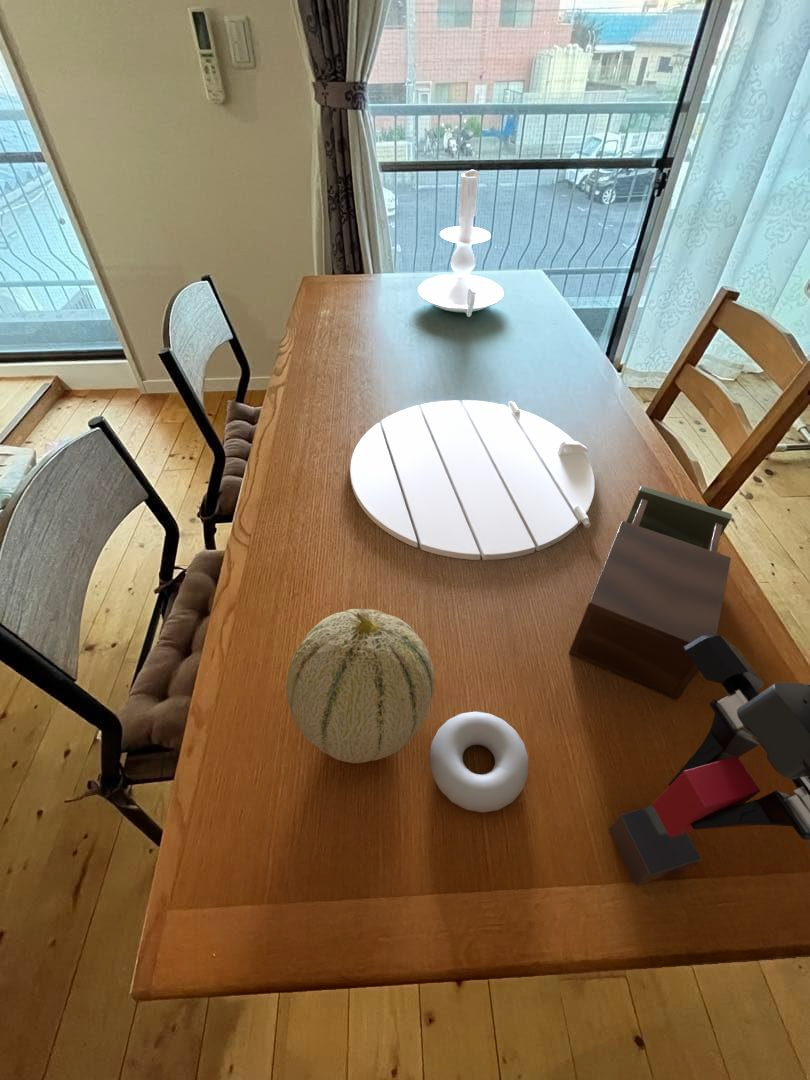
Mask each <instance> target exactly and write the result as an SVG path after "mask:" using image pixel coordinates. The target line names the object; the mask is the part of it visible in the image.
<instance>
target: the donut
mask: <svg viewBox="0 0 810 1080" xmlns="http://www.w3.org/2000/svg"><path fill="white" fill-rule="evenodd" d="M476 745H478V746H482V747H484V748H486V749H487V750H488V751H490V752H491V754H492V756H493V757H494V766H493V768H492V770H491V771H489V772H487V773H483V774H479V773H475V772H473V771H471V770H470V769H469V768H467V766H466V765H465V763H464V759H463V756H464V753H465V751H466V749H467V748H470V747H471V746H476ZM429 764H430V770H431V775H432V777H433V779H434V781H435V783H436V785H437V787H438V789H439V791H440V792H441V793H442V794H443V795H444V796H445V797H446V798H447V799H448V800H449V801H450V802H451V803H453V804H455V805H457V806H458V807H460V808H462V809H464V810H467V811H472V812H477V813H482V814H483V813H488V812H495V811H500V810H501V809H503V808H504V807H507V806H508V805H509V804H512V803H513V802H514V801H515V800H516V799H517V798H518V796H519V795H520V794H521V793H522V791H523V790H524V788H525V785H526V782H527V779H528V777H529V755H528V752H527V749H526V746H525V742H524V741H523V739H522V738H521V737H520V735H519V734H518V732H517V731H516V729H514V728H513V727H512V726H511V725H510V724H509V723H507V721H505V720H504V719H503V718H501V717H498V716H496V715H494V714H491V713H488V712H483V711H467V712H462V713H459V714H457V715H454V716H453V717H451V718H449V719H447V720H446V721H445V722H444V723H443V724H442V725H441V726H440V727H439V728H438V730H437V732H436V734H435V735H434V738H433V740H432V742H431V744H430V752H429Z"/></svg>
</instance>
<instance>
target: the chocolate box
mask: <svg viewBox="0 0 810 1080" xmlns="http://www.w3.org/2000/svg"><path fill="white" fill-rule="evenodd" d="M760 792H761V789H760V788H759V786H758V784H757V783H756V782H755V780H754V779H753V777H752V776H751V774H750V773H749V772H748V770H747V768H746V767H745V766H744V764H743V763H742V761H741V760H740V758H739V757H737V756H735V757H732V758H728V759H725V760H721V761H717V762H714V763H710V764H707V765H703V766H700V767H696V768H693V769H689V770H685V771H684V772H683V773H682V774H681V775H680V776H679V777H678V778H677V779H676V780H675V781H674V782H673V783H672V784H671V785H670V786H669V785H668V787H667V788H666V789H665V790H664V791H663V793H662V794H661V795H660V796H659V797H658V798H656V800H654V802H653V803H652V805H653V807H654V808H655V810H656V812H657V814H658V816H659V818H660V820H661V821H662V823H663V825H664V827H665V829H666V831H667V833H668V835H669V836H670V837H675V836H678V835H681V834H685V833H687V834H688V833H690V832H695V831H698V830H697V829H693V828H692V826H691V824H692V823H693V822H695V821H697V820H699V819H701V818H703V817H705V816H707V815H709V814H712V813H716V812H719V811H722V810H725V809H728V808H732V807H735V806H738V805H741V804H744V803H747V802H749V800H751V799H752V798H754V797H756V795H757V794H759V793H760Z"/></svg>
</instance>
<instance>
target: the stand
mask: <svg viewBox="0 0 810 1080" xmlns="http://www.w3.org/2000/svg"><path fill="white" fill-rule="evenodd" d="M608 830H609V832H610V835H611V837H612V839H613V841H614V843H615V845H616V847H617V850H618V852H619V854H620V855H621V858H622V861H623V862H624V864H625V867H626V868H627V871H628V873H629V875H630V877H631V879H632V881H633V883H634V886H635V887H639V886H643V885H645V884H649V883H652V882H655V881H659V880H662V879H666V878H668V877H672V876H675V875H677V874H680V873H684V872H686V871H687V870H689V869H690V868H691V867H693V866H694V865H696V864H697V863H699V862H700V861H702V857H701V855H700V853H699V852H698V850H697V848H696V846H695V845H694V843H693V841H692V839H691V838H690V835H689V834H688V833H685V834H681V835H678V836H675V837H670V836H669V835H668V833H667V831H666V829H665V827H664V825H663V823H662V821H661V820H660V818H659V816H658V814H657V812H656V810H655V808H654V807H653V804H652V805H649V806H646V807H641V808H638V809H636V810H632V811H629V812H624V813H622V814H620V815H618V817H617V818H616V820H614V821H613V823H612V824H611V825H610V826H609V827H608Z"/></svg>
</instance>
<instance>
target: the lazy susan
mask: <svg viewBox="0 0 810 1080" xmlns="http://www.w3.org/2000/svg"><path fill="white" fill-rule="evenodd" d="M507 404H508V405H506V404H502V403H497V402H491V401H486V400H485V401H484V400H475V399H473V400H472V399H462V400H460V399H450V400H449V399H448V400H447V399H446V400H437V401H431V402H424V403H421V404H419V405H418V404H417V405H413V406H410V407H407V408H404V409H401V410H397V412H393V413H392V414H390V415H388V416H386V417H384V418H383V419H381V421H378V422H377V423H375V424H374V425H373V426H372V427H370V429H368V430H367V431H366V432H365V434H363V436H362V437H361V438H360V440H359V441H358V442H357V444H356V446H355V448H354V450H353V453H352V455H351V459H350V465H349V470H350V471H349V473H350V474H349V475H350V483H351V488H352V491H353V495H354V497H355V500H356V501H357V503H358V505H359V506H360V508H361V509H362V511H363V513H365V515H366V516H367V517H368V518H369V519H370V520H371V521H372V522H373V523H374V524H375V525H377V526H378V527H379V528H380V529H381V530H382V531H384V532H386V533H388V534H389V535H390V536H392V537H393V538H395V539H397V540H399V541H401V542H402V543H404V544H407V545H409V546H411V547H413V548H415V549H418V545H419V548H420V550H422V551H425V552H427V553H430V554H434V555H439V556H443V557H448V558H454V559H461V560H469V561H470V560H471V561H473V560H474V561H480V560H481V559H482V561H494V560H505V559H512V558H519V557H523V556H527V555H530V554H534V553H535V552H540V551H542V550H545V549H547V548H549V547H551V546H554V545H555V544H557V543H559V542H560V541H562V540H564V539H565V538H567V536H569V535H570V534H571V533H573V532H574V531H575V530H577V527H578V526H580V524H583V527H585V528H586V529H588V528H590V527H591V523H590V518H589V516H588V515H587V514H588V512H589V510H590V508H591V505H592V502H593V499H594V496H595V489H596V488H595V486H596V483H595V481H596V480H595V474H594V471H593V470H594V469H593V468H592V464H591V462H590V460H589V459H588V457H587V455H586V454H587V453H589V449H588V447H586V445H584V444H583V443H581V442H580V441H575V440H574V439H573V438H572V437H571V436H570V435H569V434H567V433H566V432H565V431H563V430H562V429H561V428H560V427H558V426H557V425H555V424H553V423H552V422H550V421H548V420H546V419H545V418H543V417H540V416H538V415H536V414H534V413H531V412H529V411H527V410H523V409H522V408H521V409H520V408H519V407H518V406H517V404H516V402H515V401H513V400H509V401H508V402H507Z"/></svg>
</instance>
